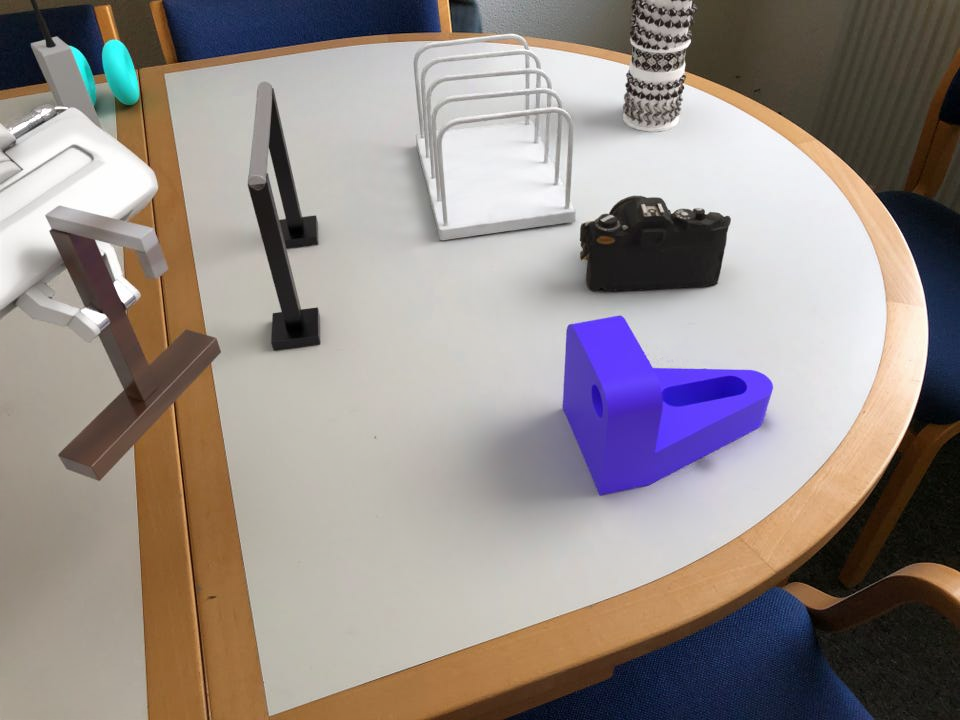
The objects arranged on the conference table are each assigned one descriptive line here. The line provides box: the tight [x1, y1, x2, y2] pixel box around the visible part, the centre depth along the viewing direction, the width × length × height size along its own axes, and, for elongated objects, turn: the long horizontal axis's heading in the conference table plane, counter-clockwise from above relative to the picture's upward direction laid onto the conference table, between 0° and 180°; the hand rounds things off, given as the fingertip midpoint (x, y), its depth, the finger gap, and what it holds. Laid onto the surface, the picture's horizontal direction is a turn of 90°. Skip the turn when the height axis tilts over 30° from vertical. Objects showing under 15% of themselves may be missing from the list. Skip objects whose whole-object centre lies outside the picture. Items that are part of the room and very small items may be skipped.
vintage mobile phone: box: [29, 0, 104, 131], centre depth 109 cm, size 4×5×25 cm
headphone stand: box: [45, 206, 222, 482], centre depth 53 cm, size 8×14×17 cm, turn 158°
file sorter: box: [413, 33, 577, 241], centre depth 103 cm, size 25×17×16 cm
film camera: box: [579, 195, 732, 292], centre depth 89 cm, size 18×12×10 cm
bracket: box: [562, 315, 774, 496], centre depth 70 cm, size 18×11×12 cm, turn 103°
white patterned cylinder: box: [622, 0, 698, 133], centre depth 112 cm, size 9×9×25 cm
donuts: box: [68, 39, 140, 107], centre depth 127 cm, size 10×10×10 cm
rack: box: [247, 81, 321, 351], centre depth 87 cm, size 5×24×20 cm, turn 9°
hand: (116, 319), depth 53 cm, fingers closed on headphone stand
